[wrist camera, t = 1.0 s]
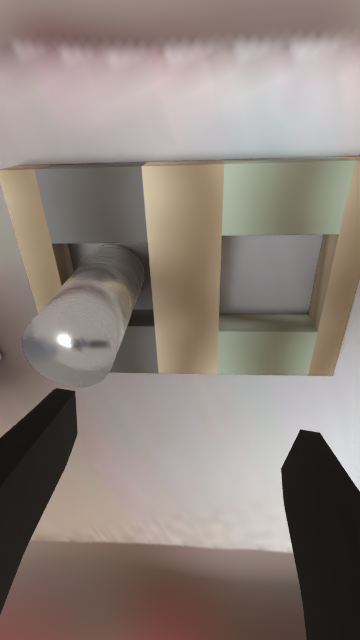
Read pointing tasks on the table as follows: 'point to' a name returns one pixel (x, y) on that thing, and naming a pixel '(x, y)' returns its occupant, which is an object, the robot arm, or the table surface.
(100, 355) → the metal cylinder
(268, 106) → the table surface
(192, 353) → the tool stand
